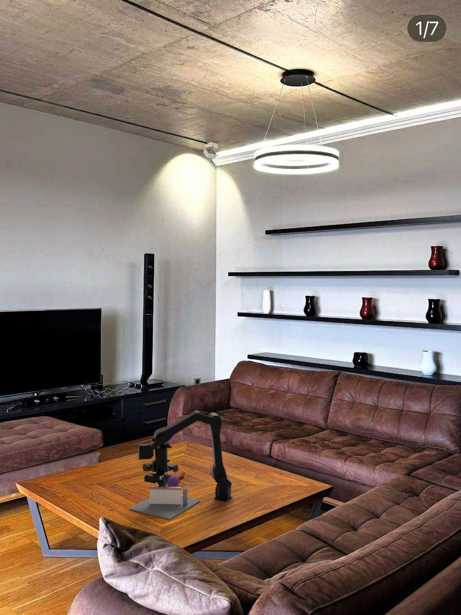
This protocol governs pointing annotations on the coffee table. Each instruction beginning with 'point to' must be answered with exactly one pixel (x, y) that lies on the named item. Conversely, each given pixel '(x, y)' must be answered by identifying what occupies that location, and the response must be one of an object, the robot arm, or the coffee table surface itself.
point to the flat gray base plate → (165, 507)
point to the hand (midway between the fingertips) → (161, 491)
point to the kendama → (175, 479)
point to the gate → (165, 495)
